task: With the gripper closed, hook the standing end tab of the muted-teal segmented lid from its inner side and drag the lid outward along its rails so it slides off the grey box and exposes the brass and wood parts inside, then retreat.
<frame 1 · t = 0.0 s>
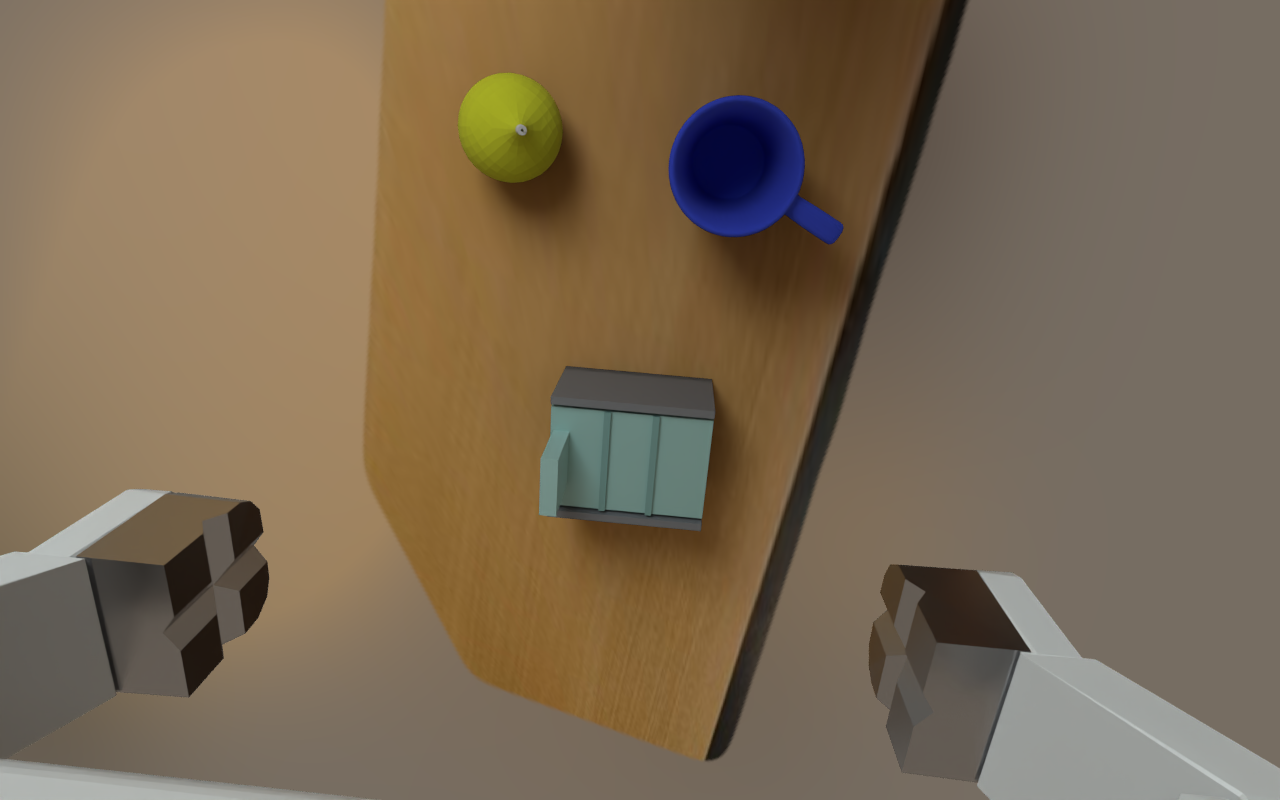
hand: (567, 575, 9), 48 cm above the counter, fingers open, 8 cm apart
mug: (748, 176, 53), on the counter
lid: (626, 476, 52), point 9 cm above the counter, slide at 0.0 cm
grey box: (634, 428, 61), on the counter
pear: (522, 129, 53), on the counter
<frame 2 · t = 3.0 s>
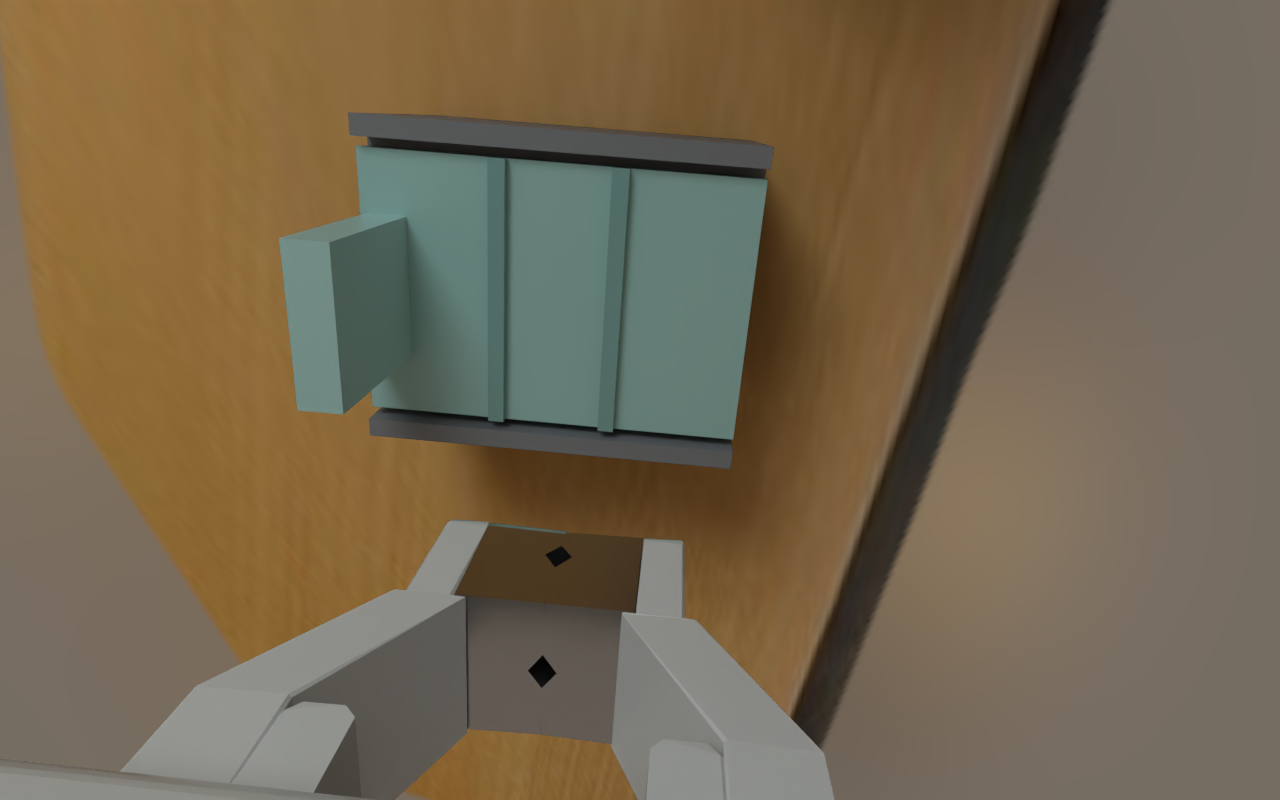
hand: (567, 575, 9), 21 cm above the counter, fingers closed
lid: (543, 318, 20), point 9 cm above the counter, slide at 0.0 cm
grey box: (584, 261, 29), on the counter
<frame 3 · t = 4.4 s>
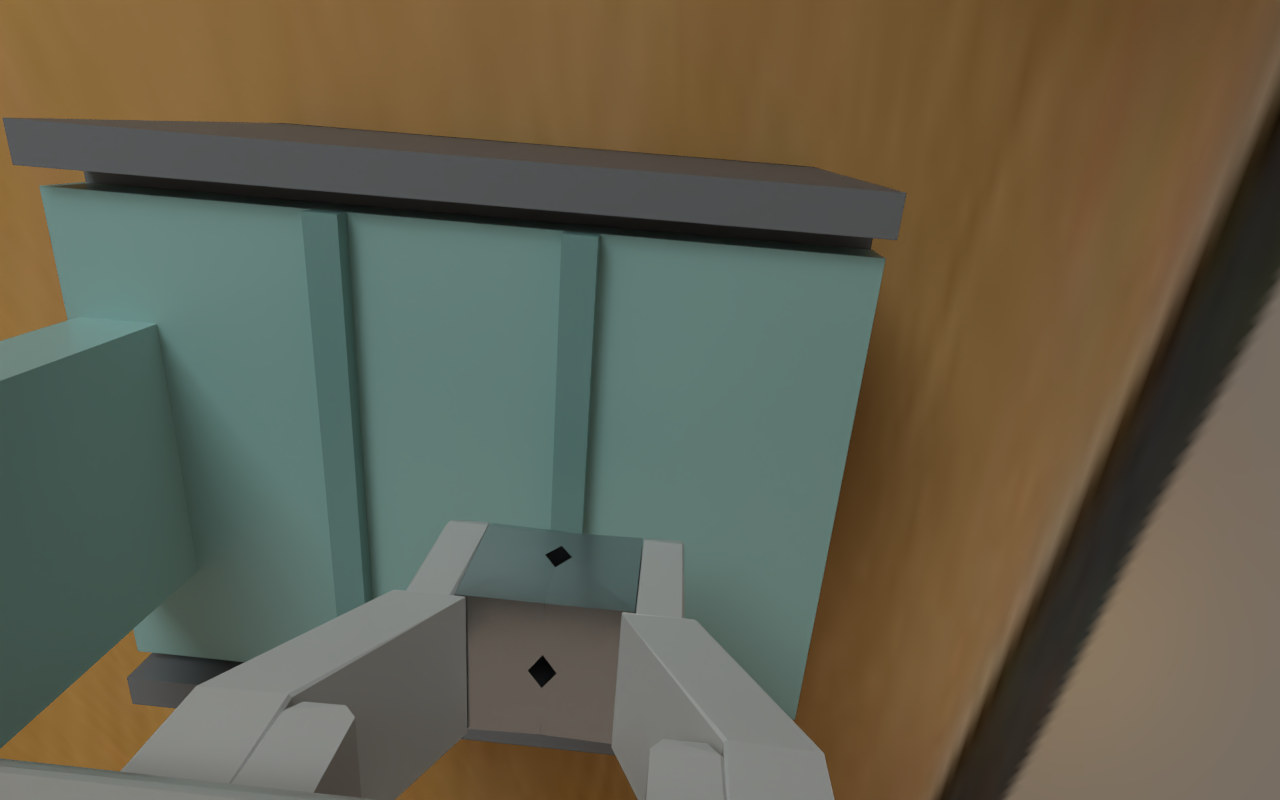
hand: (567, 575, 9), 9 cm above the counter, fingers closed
lid: (412, 554, 10), point 9 cm above the counter, slide at 0.0 cm
grey box: (540, 356, 18), on the counter
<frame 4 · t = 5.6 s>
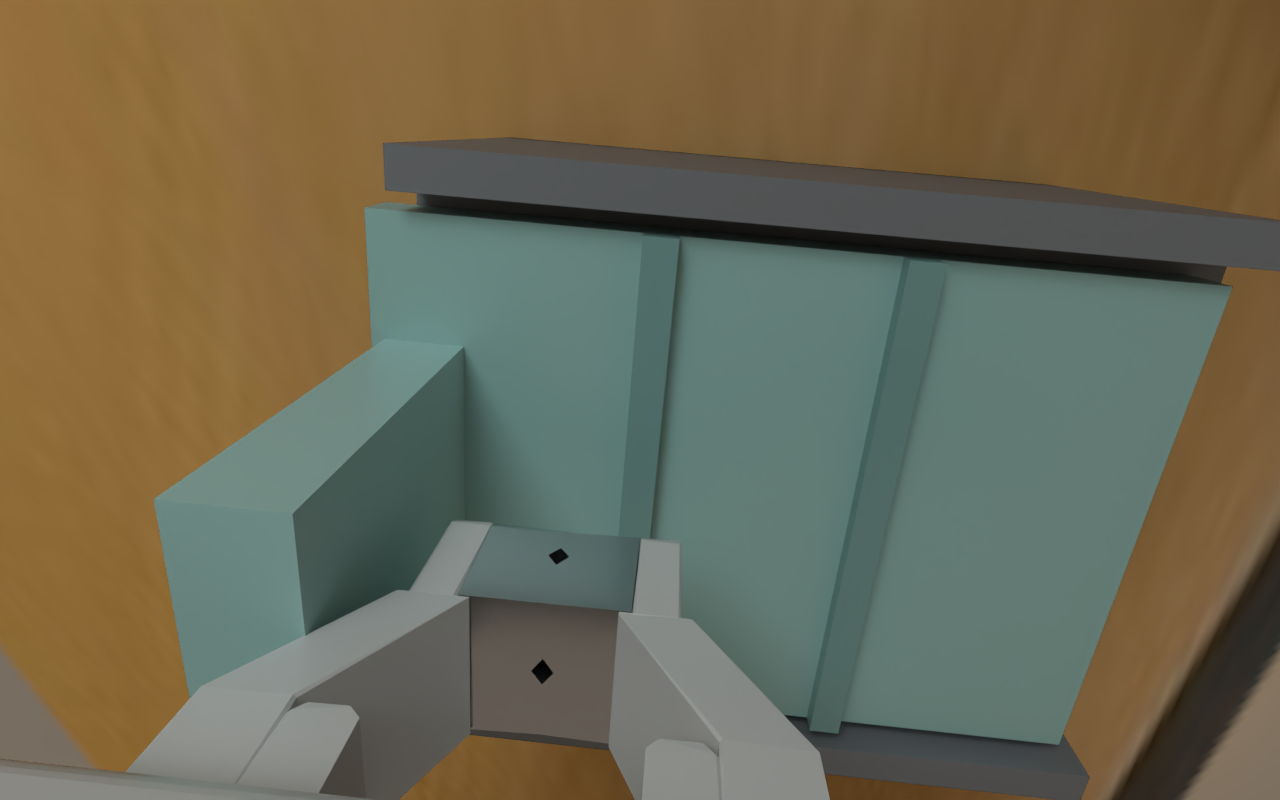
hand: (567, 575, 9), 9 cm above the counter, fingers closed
lid: (764, 585, 9), point 9 cm above the counter, slide at 0.5 cm, touching gripper
grey box: (745, 372, 18), on the counter
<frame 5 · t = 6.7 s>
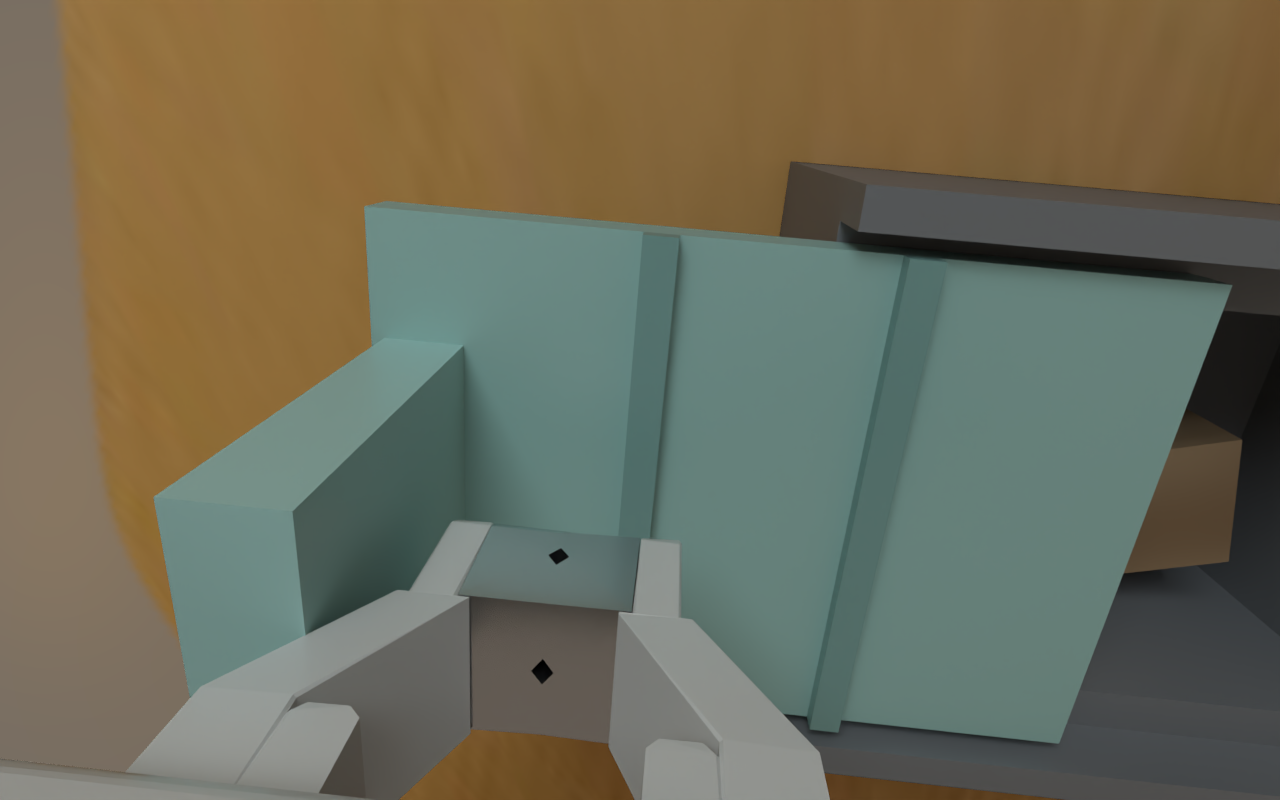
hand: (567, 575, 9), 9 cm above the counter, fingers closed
wood part: (1089, 453, 17), point 1 cm above the counter, touching grey box
lid: (764, 583, 9), point 9 cm above the counter, slide at 6.8 cm, touching gripper
grey box: (1003, 396, 18), on the counter
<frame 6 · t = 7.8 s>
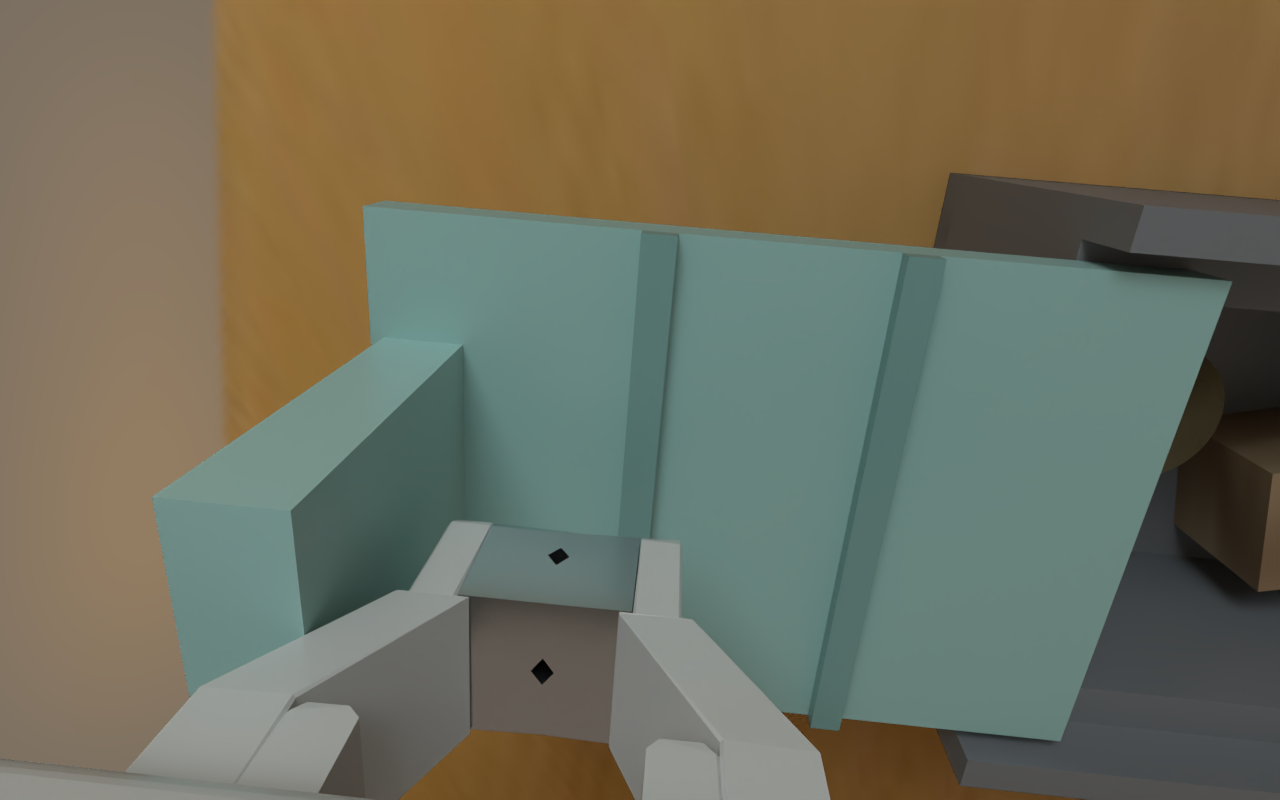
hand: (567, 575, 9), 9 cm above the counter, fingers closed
wood part: (1240, 465, 17), point 1 cm above the counter, touching grey box
lid: (764, 582, 9), point 9 cm above the counter, slide at 10.3 cm, touching gripper
brass part: (1073, 368, 17), point 1 cm above the counter, touching grey box
grey box: (1151, 407, 17), on the counter
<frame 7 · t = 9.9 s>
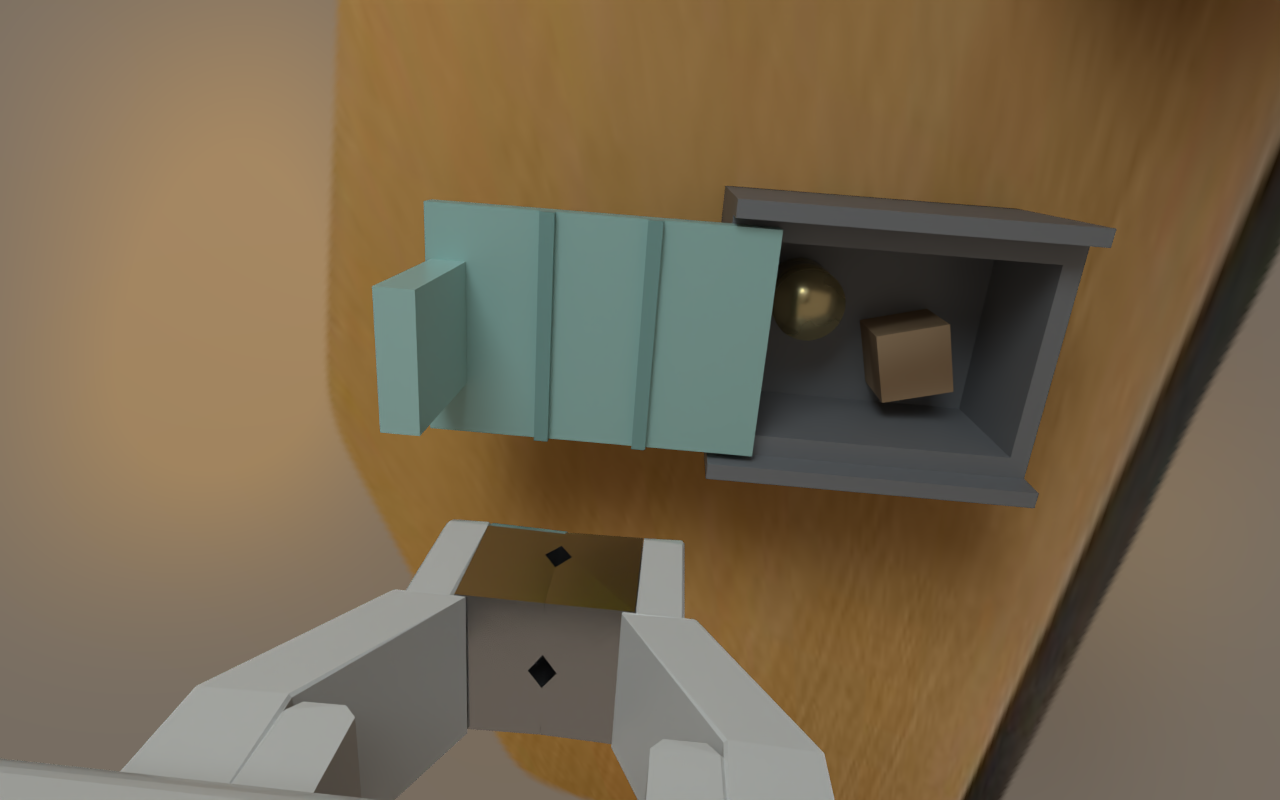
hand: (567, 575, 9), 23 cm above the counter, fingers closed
wood part: (895, 345, 31), point 1 cm above the counter, touching grey box
lid: (588, 351, 23), point 9 cm above the counter, slide at 10.4 cm
brass part: (798, 291, 30), point 1 cm above the counter, touching grey box
grey box: (849, 315, 31), on the counter
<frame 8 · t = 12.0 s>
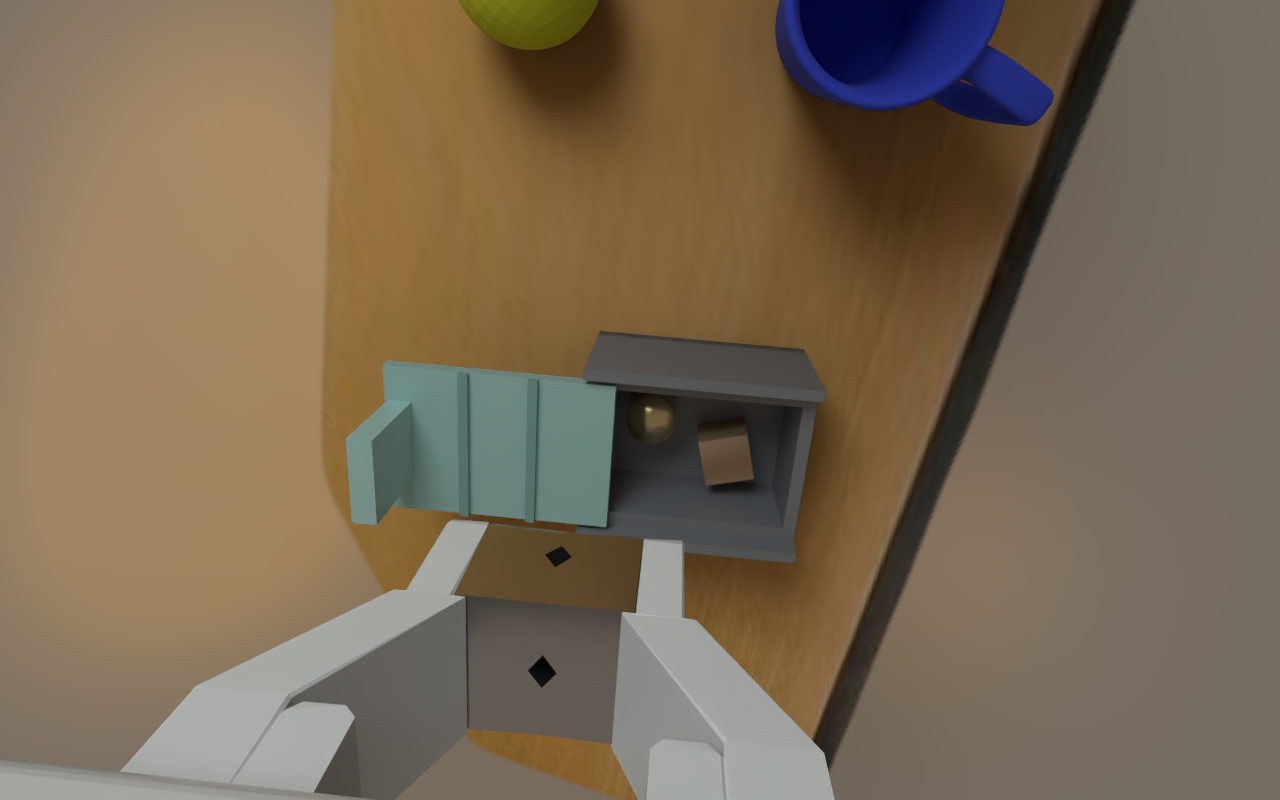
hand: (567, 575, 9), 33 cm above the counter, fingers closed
wood part: (723, 441, 44), point 1 cm above the counter, touching grey box
mug: (871, 49, 37), on the counter
lid: (487, 466, 36), point 9 cm above the counter, slide at 10.4 cm
brass part: (653, 403, 43), point 1 cm above the counter, touching grey box
grey box: (692, 418, 44), on the counter
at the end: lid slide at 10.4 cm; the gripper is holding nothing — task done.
